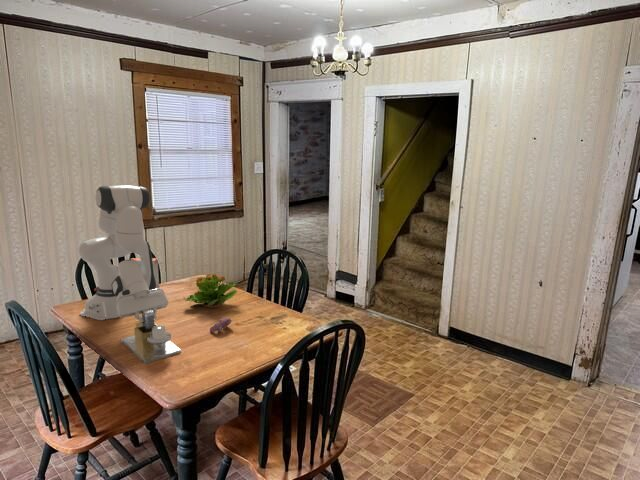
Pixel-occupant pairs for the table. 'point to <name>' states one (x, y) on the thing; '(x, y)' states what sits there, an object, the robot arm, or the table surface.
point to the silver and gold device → (151, 343)
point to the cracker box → (155, 269)
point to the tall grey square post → (148, 320)
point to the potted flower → (212, 291)
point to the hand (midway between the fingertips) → (148, 321)
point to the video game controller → (220, 325)
